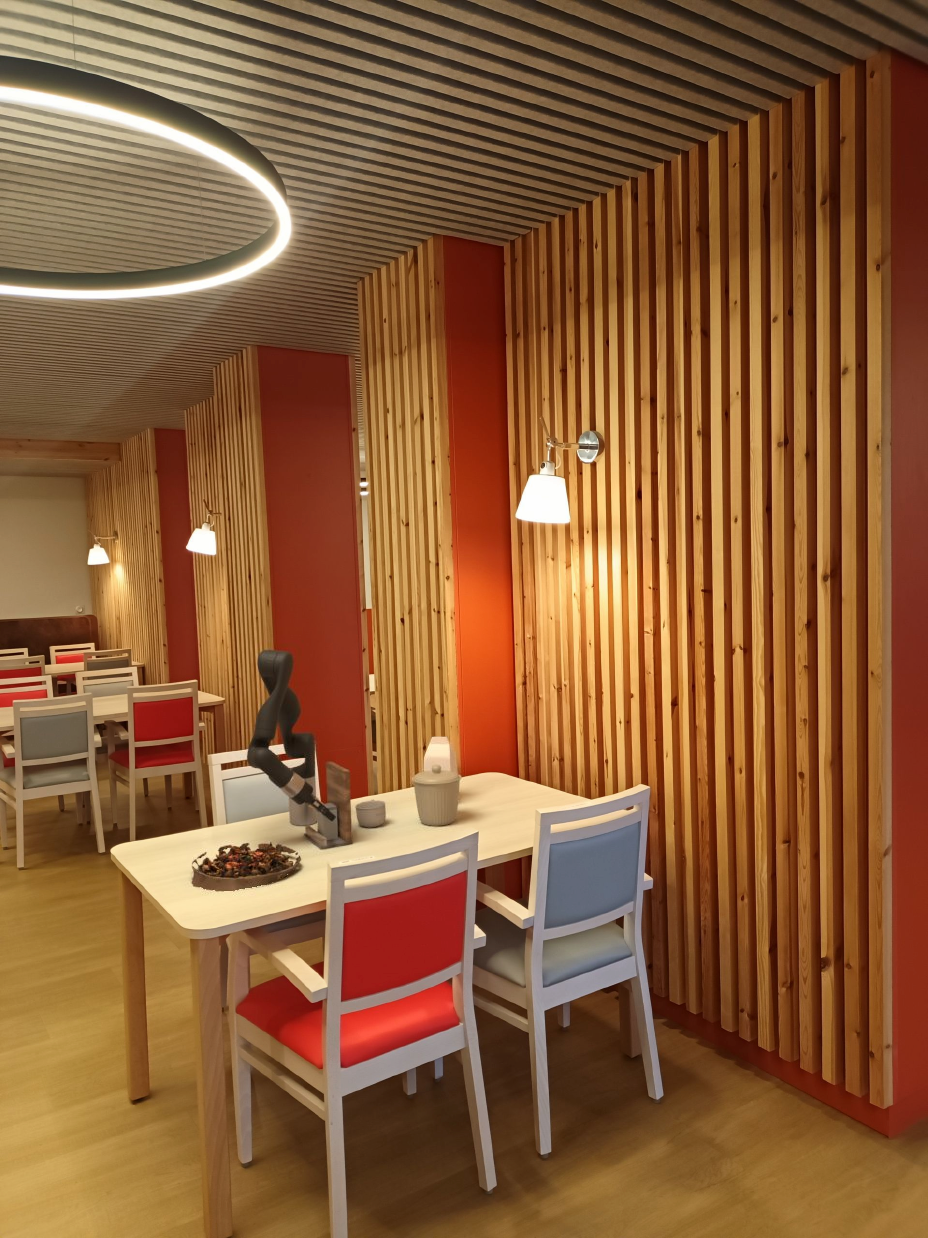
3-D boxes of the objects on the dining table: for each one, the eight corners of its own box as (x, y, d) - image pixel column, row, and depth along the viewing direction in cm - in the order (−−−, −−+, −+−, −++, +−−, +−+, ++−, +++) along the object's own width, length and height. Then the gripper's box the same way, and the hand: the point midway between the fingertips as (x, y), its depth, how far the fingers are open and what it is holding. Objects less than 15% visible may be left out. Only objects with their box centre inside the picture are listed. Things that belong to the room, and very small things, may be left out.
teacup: (381, 830, 322) (380, 807, 322) (352, 829, 324) (351, 807, 324) (392, 819, 336) (391, 798, 335) (364, 818, 338) (363, 797, 338)
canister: (470, 825, 325) (468, 767, 323) (421, 831, 318) (419, 772, 317) (453, 813, 342) (451, 757, 340) (407, 819, 335) (405, 762, 334)
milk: (423, 805, 354) (420, 739, 353) (430, 798, 365) (428, 734, 364) (453, 806, 351) (450, 740, 350) (459, 799, 362) (457, 734, 361)
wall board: (320, 849, 301) (318, 775, 300) (304, 836, 317) (301, 765, 316) (352, 844, 306) (349, 770, 305) (334, 831, 322) (331, 761, 321)
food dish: (245, 853, 305) (245, 829, 304) (323, 868, 288) (323, 844, 288) (162, 881, 274) (162, 856, 274) (243, 901, 258) (243, 873, 257)
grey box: (323, 840, 308) (322, 808, 307) (318, 836, 313) (316, 805, 312) (337, 838, 310) (336, 806, 309) (331, 834, 315) (330, 802, 315)
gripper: (310, 783, 300) (344, 812, 306) (296, 775, 313) (329, 803, 319) (295, 801, 298) (329, 830, 304) (282, 792, 311) (316, 820, 317)
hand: (329, 816), depth 312 cm, fingers open, 8 cm apart
